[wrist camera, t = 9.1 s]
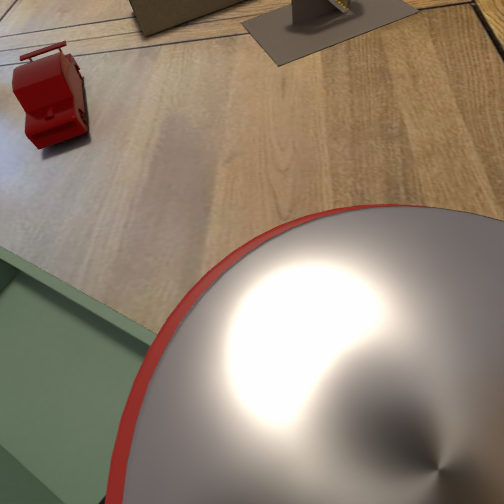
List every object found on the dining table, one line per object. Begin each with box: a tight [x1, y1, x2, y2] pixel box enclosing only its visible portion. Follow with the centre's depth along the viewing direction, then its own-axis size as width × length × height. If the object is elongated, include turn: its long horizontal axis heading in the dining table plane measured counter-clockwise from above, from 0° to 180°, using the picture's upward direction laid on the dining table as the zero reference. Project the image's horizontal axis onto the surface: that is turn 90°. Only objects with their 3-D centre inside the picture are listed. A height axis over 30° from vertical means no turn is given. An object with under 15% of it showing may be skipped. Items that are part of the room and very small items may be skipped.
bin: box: [0, 246, 158, 504], centre depth 20 cm, size 10×21×5 cm, turn 62°
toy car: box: [12, 41, 88, 149], centre depth 36 cm, size 14×6×5 cm, turn 19°
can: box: [105, 204, 504, 504], centre depth 8 cm, size 6×6×12 cm
